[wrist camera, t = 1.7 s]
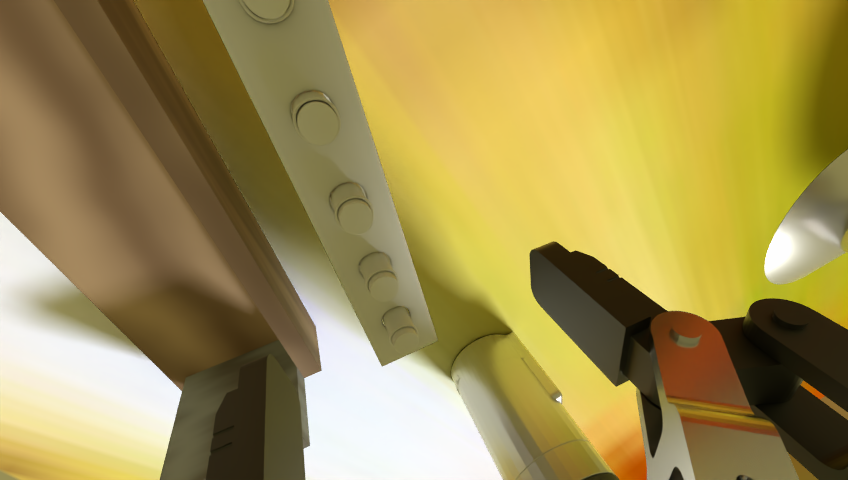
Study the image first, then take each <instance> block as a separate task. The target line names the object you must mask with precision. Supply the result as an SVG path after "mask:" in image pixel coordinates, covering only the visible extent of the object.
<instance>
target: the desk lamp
mask: <svg viewBox="0 0 848 480" xmlns="http://www.w3.org/2000/svg"><path fill="white" fill-rule="evenodd" d="M845 252H847V253H848V150H846V151H845V152H844V153H842V154H841V155H840V156H839V157H838V158H836V159H835V160H834V161H833V162H832V163H831V164H830V165H829V166H828V167H826V168H825V169H824V170H823V171H822V172H821V173H820V174H819V175H818V176H817V177H816V179H815V180H814V181H813V182H812V183H811V184H810V185H809V186H808V187H807V189H806V190H805V191H804V192H803V193H802V194H801V196H800V197H799V198H798V200H797V201H796V202H795V203H794V205H793V206H792V208H791V209H790V210H789V212H788V213H787V215H786V216H785V218H784V219H783V221H782V223H781V224H780V226H779V228H778V230H777V232H776V233H775V235H774V237H773V240H772V242H771V244H770V247H769V249H768V252H767V256H766V260H765V274H766V277H767V279H768V280H769V281H770V282H772V283H774V284H787V283H791V282H794V281H796V280H799V279H801V278H803V277H805V276H807V275H808V274H810V273H812V272H813V271H815V270H817V269H818V268H820V267H822V266H824V265H825V264H827V263H829V262H830V261H832V260H834V259H835V258H837V257H839V256H840V255H842V254H844V253H845Z"/></svg>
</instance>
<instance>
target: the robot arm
mask: <svg viewBox="0 0 848 480" xmlns="http://www.w3.org/2000/svg"><path fill="white" fill-rule="evenodd" d="M530 274H531V289H532V292H533V295H534V297H535V299H536V301H537V302H538V304H539V305H540V306H541V307H542V308H543V309H544V310H545V311H546V313H547V314H548V315H549V316H550V317H551V318H552V319H553V320H554V321H555V322H556V323H557V324H558V325H559V326H560V327H561V329H562V330H563V331H564V332H565V333H566V334H567V335H568V336H569V337H570V338H571V339H572V340H573V341H574V342H575V343H576V345H577V346H578V347H579V348H580V349H581V350H582V351H583V352H584V353H585V354H586V355H587V356H588V357H589V358H590V359H591V361H592V362H593V363H594V364H595V365H596V366H597V367H598V368H599V369H600V370H601V371H602V372H603V373H604V374H605V375H606V377H607V378H608V379H609V380H610V381H611V382H612V383H613V384H614V385H615V386H618V385H620V384H622V383H624V382H626V381H628V380H630V381H631V382H632V383H633V384H634V385H635V386H636V387H637V389H636V396H637V403H638V409H639V416H640V422H641V429H642V435H643V441H644V448H645V454H646V461H647V480H799V478H798V476H797V474H796V471H795V469H794V467H793V464H792V462H791V460H790V457H789V455H788V453H789V454H791V455H792V456H793V457H794V458H795V459H796V460H797V461H799V463H801V464H802V465H803V466H804V467H805V468H806V469H807V470H808V471H809V472H811V473H812V474H813V475H814V476H815V477H816V478H817V479H819V480H848V420H847V419H845V418H844V417H843V416H841V415H840V414H839V413H837V412H836V411H835V410H833V409H832V408H830V407H829V406H828V405H826V404H825V403H824V402H822V401H821V400H820V399H818V398H817V397H816V396H814V395H813V394H812V393H810V392H809V391H807V390H806V389H805V388H803V387H802V386H801V385H800V384H801V383H802V381H803V380H804V381H805V382H807V383H808V384H809V385H811V386H812V387H814V388H815V389H816V390H818V391H819V392H821V393H822V394H823V395H825V396H826V397H827V398H829V399H830V400H832V401H833V402H834V403H836V404H837V405H838V406H840V407H841V408H843V409H844V410H846V411H847V412H848V330H847V329H846V328H844V327H842V326H840V325H839V324H837V323H835V322H833V321H832V320H830V319H828V318H827V317H825V316H823V315H821V314H820V313H818V312H816V311H814V310H812V309H811V308H809V307H806V306H804V305H802V304H799V303H796V302H793V301H788V300H783V299H762V300H759V301H756V302H754V303H753V304H752V305H751V306H750V308H749V310H748V312H747V315H746V317H740V318H732V319H724V320H716V321H707V320H705V319H704V318H702V317H700V316H697V315H695V314H692V313H688V312H682V311H667V310H665V309H664V308H662V307H661V306H660V305H658V304H657V303H655V302H654V301H653V300H651V299H650V298H649V297H647V296H646V295H645V294H643V293H642V292H640V291H639V290H638V289H636V288H635V287H634V286H632V285H631V284H630V283H628V282H627V281H626V280H624V279H623V278H619V276H618V275H617V274H616V273H615V272H613V271H612V270H611V269H608V268H607V267H606V266H605V265H604V264H602V263H601V262H600V261H598V260H597V259H596V258H594V257H592V256H590V255H587V254H584V253H581V252H578V251H573V252H571V253H570V252H569V251H568V250H566V249H565V248H564V247H563V246H561V245H560V244H559V243H557V242H551V243H548V244H546V245H543V246H541V247H538V248H536V249H533V250H531V252H530ZM451 376H452V379H453V381H454V383H455V385H456V388H457V390H458V392H459V394H460V396H461V397H462V399H463V401H464V403H465V405H466V407H467V409H468V411H469V413H470V415H471V417H472V419H473V421H474V423H475V425H476V427H477V429H478V431H479V433H480V435H481V437H482V439H483V441H484V443H485V445H486V447H487V449H488V451H489V453H490V455H491V457H492V459H493V461H494V463H495V465H496V467H497V469H498V471H499V473H500V475H501V477H502V479H503V480H619V479H618V477H617V476H616V475H615V474H614V472H613V471H612V470H611V468H610V467H609V466H608V464H607V463H606V462H605V460H604V459H603V458H602V457H601V455H600V454H599V453H598V451H597V450H596V449H595V447H594V446H593V445H592V444H591V442H590V441H589V440H588V438H587V437H586V436H585V434H584V433H583V432H582V430H581V429H580V428H579V426H578V425H577V424H576V422H575V421H574V420H573V419H572V417H571V416H570V415H569V413H568V412H567V411H566V409H565V408H564V407H563V405H562V394H561V392H560V391H559V389H558V388H557V387H556V385H555V384H554V383H553V382H552V380H551V379H550V378H549V377H548V375H547V374H546V373H545V371H544V370H543V369H542V368H541V366H540V365H539V364H538V363H537V361H536V360H535V359H534V357H533V356H532V355H531V354H530V352H529V351H528V350H527V349H526V347H525V346H524V345H523V343H522V342H521V341H520V340H519V338H518V337H517V336H516V335H515V333H514V332H512V333H510V334H507V335H500V334H495V335H489V336H485V337H482V338H480V339H478V340H476V341H474V342H473V343H471V344H469V345H468V346H467V347H466V348H465V349H463V350H462V352H461V353H460V354H459V355H458V356H457V358H456V359H455V361H454V363H453V366H452V370H451ZM213 436H214V437H213V438H212V442H211V448H210V452H211V455H210V456H209V461H208V468H207V474H206V480H305V468H304V452H303V436H302V421H301V407H300V401H299V397H298V394H297V391H296V389H295V387H294V385H293V384H292V382H291V381H290V379H289V378H288V376H287V375H286V373H285V372H284V371H283V369H282V368H281V366H280V365H279V363H278V362H277V360H276V359H275V358H274V356H273V355H271V354H269V355H267V356H264V357H262V358H259V359H257V360H254V361H252V362H249V363H247V364H244V365H242V366H241V368H240V372H239V381H238V389H235V390H233V391H230V392H228V393H226V395H225V397H224V399H223V401H222V403H221V405H220V407H219V409H218V411H217V413H216V416H215V422H214V429H213ZM787 452H788V453H787Z"/></svg>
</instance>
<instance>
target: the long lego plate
mask: <svg viewBox="0 0 848 480" xmlns="http://www.w3.org/2000/svg"><path fill="white" fill-rule="evenodd" d="M203 2H204V4H205V7H206V9H207V11H208V13H209V15H210V17H211V19H212V21H213V23H214V25H215V27H216V29H217V31H218V33H219V35H220V37H221V39H222V41H223V43H224V45H225V47H226V49H227V51H228V53H229V55H230V57H231V60H232V62H233V64H234V66H235V68H236V70H237V72H238V74H239V76H240V78H241V80H242V82H243V84H244V86H245V88H246V90H247V92H248V94H249V96H250V98H251V100H252V102H253V104H254V106H255V108H256V110H257V113H258V115H259V117H260V119H261V121H262V123H263V125H264V127H265V129H266V131H267V133H268V135H269V137H270V139H271V141H272V143H273V145H274V147H275V149H276V151H277V153H278V155H279V157H280V159H281V161H282V164H283V166H284V168H285V170H286V172H287V174H288V176H289V178H290V180H291V182H292V184H293V186H294V188H295V190H296V192H297V194H298V196H299V198H300V200H301V202H302V204H303V206H304V208H305V210H306V212H307V215H308V217H309V219H310V221H311V223H312V225H313V227H314V229H315V231H316V233H317V235H318V237H319V239H320V241H321V243H322V245H323V247H324V249H325V251H326V253H327V255H328V257H329V259H330V261H331V263H332V266H333V268H334V270H335V272H336V274H337V276H338V278H339V280H340V282H341V284H342V286H343V288H344V290H345V292H346V294H347V296H348V298H349V300H350V302H351V304H352V306H353V308H354V310H355V312H356V315H357V317H358V319H359V321H360V323H361V325H362V327H363V329H364V331H365V333H366V335H367V337H368V339H369V341H370V343H371V345H372V347H373V349H374V351H375V353H376V355H377V357H378V359H379V361H380V363H381V365H382V366H384V365H387V364H389V363H391V362H393V361H395V360H397V359H400V358H402V357H404V356H406V355H408V354H411V353H413V352H415V351H417V350H419V349H421V348H424V347H426V346H428V345H430V344H432V343H434V342H436V341H438V338H437V335H436V332H435V329H434V326H433V323H432V320H431V317H430V314H429V310H428V307H427V304H426V301H425V298H424V295H423V292H422V289H421V286H420V283H419V280H418V277H417V273H416V270H415V267H414V264H413V261H412V258H411V255H410V252H409V249H408V246H407V243H406V240H405V237H404V233H403V230H402V227H401V224H400V221H399V218H398V215H397V212H396V209H395V206H394V203H393V200H392V196H391V193H390V190H389V187H388V184H387V181H386V178H385V175H384V172H383V169H382V166H381V163H380V159H379V156H378V153H377V150H376V147H375V144H374V141H373V138H372V135H371V132H370V129H369V126H368V122H367V119H366V116H365V113H364V110H363V107H362V104H361V101H360V98H359V95H358V92H357V89H356V85H355V82H354V79H353V76H352V73H351V70H350V67H349V64H348V61H347V58H346V55H345V52H344V48H343V45H342V42H341V39H340V36H339V33H338V30H337V27H336V24H335V21H334V18H333V15H332V11H331V8H330V5H329V2H328V0H203ZM406 308H407V309H408V311H409V314H408V311H407V309H406ZM382 319H383V321H384V324H385V325H384V324H383V322H382Z"/></svg>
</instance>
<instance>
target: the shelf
mask: <svg viewBox="0 0 848 480" xmlns="http://www.w3.org/2000/svg"><path fill="white" fill-rule="evenodd" d="M0 212H1V213H2V214H3V215H4V216H5V217H6V218H7V219H8V220H9V221H10V222H11V223H12V224H13V225H14V226H15V227H16V228H17V229H18V230H19V231H20V232H21V233H23V234H24V235H25V236H26V237H27V238H28V239H29V240H30V241H31V242H32V243H33V244H34V245H35V246H36V247H37V248H38V249H39V250H40V251H41V252H42V253H43V254H44V255H45V256H46V257H47V258H48V259H49V260H50V261H51V262H52V263H53V264H54V265H55V266H56V267H57V268H58V269H59V270H60V271H61V272H62V273H63V274H64V275H65V276H66V277H67V278H68V279H69V280H70V281H71V282H72V283H73V284H74V285H75V286H76V287H77V288H78V289H79V290H80V291H81V292H82V293H83V294H84V295H85V296H86V297H87V298H88V299H89V300H90V301H91V302H92V303H93V304H94V305H95V306H96V307H97V308H98V309H99V310H100V311H101V312H102V313H103V314H105V315H106V316H107V317H108V318H109V319H110V320H111V321H112V322H113V323H114V324H115V325H116V326H117V327H118V328H119V329H120V330H121V331H122V332H123V333H124V334H125V335H126V336H127V337H128V338H129V339H130V340H131V341H132V342H133V343H134V344H135V345H136V346H137V347H138V348H139V349H140V350H141V351H142V352H143V353H144V354H145V355H146V356H147V357H148V358H149V359H150V360H151V361H152V362H153V363H154V364H155V365H156V366H157V367H158V368H159V369H160V370H161V371H162V372H163V373H164V374H165V375H166V376H167V377H168V378H169V379H170V380H171V381H172V382H173V383H174V384H175V385H176V386H177V387H178V388H179V389H180V390H181V391H182V394H181V398H180V402H179V406H178V410H177V414H176V418H175V422H174V426H173V430H172V434H171V437H170V441H169V445H168V449H167V453H166V457H165V461H164V465H163V469H162V473H161V477H160V480H206V474H207V468H208V461H209V456H210V455H211V452H210V448H211V442H212V438H213V437H214V436H213V429H214V422H215V416H216V413H217V411H218V409H219V407H220V405H221V403H222V401H223V399H224V397H225V395H226V393H228V392H230V391H233V390H235V389H238V381H239V372H240V368H241V366H242V365H244V364H247V363H249V362H252V361H254V360H257V359H259V358H262V357H264V356H267V355H269V354H271V355H273V356H274V358H275V359H276V360H277V362H278V363H279V365H280V366H281V368H282V369H283V371H284V372H285V373H286V375H287V376H288V378H289V379H290V381H291V382H292V384H293V385H294V387H295V389H296V391H297V394H298V397H299V401H300V407H301V421H302V436H303V449H304V448H306V447H308V446H310V442H309V430H308V418H307V406H306V394H305V382H304V378H305V377H308V376H310V375H312V374H315V373H317V372H319V371H322V370H321V363H320V355H319V348H318V341H317V334H316V327H315V325H314V323H313V321H312V319H311V318H310V316H309V314H308V312H307V310H306V309H305V307H304V305H303V303H302V302H301V300H300V298H299V296H298V294H297V293H296V291H295V289H294V287H293V285H292V284H291V282H290V280H289V278H288V276H287V275H286V273H285V271H284V269H283V268H282V266H281V264H280V262H279V260H278V259H277V257H276V255H275V253H274V251H273V250H272V248H271V246H270V244H269V242H268V241H267V239H266V237H265V235H264V234H263V232H262V230H261V228H260V226H259V225H258V223H257V221H256V219H255V217H254V216H253V214H252V212H251V210H250V209H249V207H248V205H247V203H246V201H245V200H244V198H243V196H242V194H241V192H240V191H239V189H238V187H237V185H236V183H235V182H234V180H233V178H232V176H231V175H230V173H229V171H228V169H227V167H226V166H225V164H224V162H223V160H222V158H221V157H220V155H219V153H218V151H217V150H216V148H215V146H214V144H213V142H212V141H211V139H210V137H209V135H208V133H207V132H206V130H205V128H204V126H203V124H202V123H201V121H200V119H199V117H198V116H197V114H196V112H195V110H194V108H193V107H192V105H191V103H190V101H189V99H188V98H187V96H186V94H185V92H184V90H183V89H182V87H181V85H180V83H179V82H178V80H177V78H176V76H175V74H174V73H173V71H172V69H171V67H170V65H169V64H168V62H167V60H166V58H165V57H164V55H163V53H162V51H161V49H160V48H159V46H158V44H157V42H156V40H155V39H154V37H153V35H152V33H151V31H150V30H149V28H148V26H147V24H146V23H145V21H144V19H143V17H142V15H141V14H140V12H139V10H138V8H137V6H136V5H135V3H134V1H133V0H0Z"/></svg>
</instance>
